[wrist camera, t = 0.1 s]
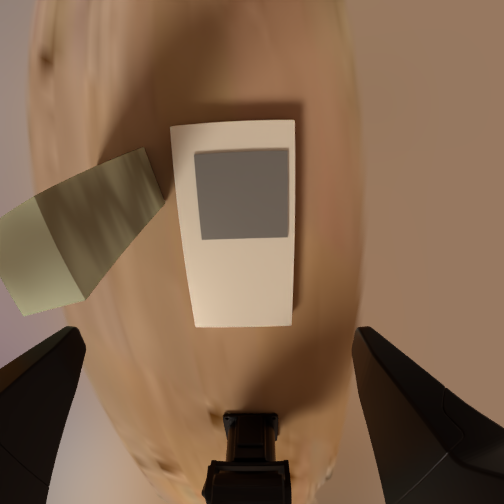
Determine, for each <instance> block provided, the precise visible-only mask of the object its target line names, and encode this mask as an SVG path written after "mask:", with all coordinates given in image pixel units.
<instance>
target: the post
mask: <svg viewBox="0 0 504 504" xmlns="http://www.w3.org/2000/svg"><path fill="white" fill-rule="evenodd" d="M164 204H165V201H164V199H163V196H162V194H161V191H160V188H159V186H158V183H157V181H156V178H155V175H154V173H153V170H152V167H151V165H150V162H149V159H148V157H147V154H146V151H145V149H144V147H142V148H139V149H137V150H134V151H132V152H129V153H126V154H124V155H121V156H119V157H117V158H114V159H112V160H109V161H107V162H105V163H102V164H100V165H98V166H95V167H93V168H91V169H89V170H86V171H84V172H82V173H80V174H78V175H75V176H73V177H71V178H69V179H67V180H65V181H63V182H61V183H59V184H57V185H55V186H53V187H51V188H49V189H47V190H45V191H43V192H41V193H39V194H37V195H35V196H34V197H32V198H31V199H29V200H27V201H25V202H24V203H22V204H21V205H19V206H18V207H16V208H14V209H13V210H12V211H10V212H8V213H7V214H5V215H4V216H2V217H1V218H0V277H1V279H2V281H3V282H4V285H5V286H6V288H7V290H8V291H9V293H10V295H11V297H12V299H13V300H14V302H15V303H16V305H17V307H18V308H19V310H20V312H21V313H22V315H23V316H26V315H31V314H34V313H38V312H42V311H46V310H49V309H54V308H58V307H62V306H65V305H69V304H73V303H77V302H81V301H85V300H86V299H87V298H88V296H89V295H90V294H91V292H92V291H93V290H94V288H95V287H96V286H97V285H98V283H99V282H100V281H101V279H102V278H103V277H104V276H105V274H106V273H107V272H108V270H109V269H110V268H111V267H112V265H113V264H114V263H115V262H116V260H117V259H118V258H119V257H120V256H121V254H122V253H123V252H124V251H125V249H126V248H127V247H128V246H129V245H130V243H131V242H132V241H133V240H134V239H135V237H136V236H137V235H138V234H139V233H140V232H141V230H142V229H143V228H144V227H145V226H146V225H147V223H148V222H149V221H150V220H151V219H152V218H153V217H154V216H155V214H156V213H157V212H158V211H159V210H160V209H161V208H162V207H163V205H164Z"/></svg>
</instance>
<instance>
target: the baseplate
mask: <svg viewBox="0 0 504 504" xmlns="http://www.w3.org/2000/svg"><path fill="white" fill-rule="evenodd" d="M170 134H171V146H172V158H173V168H174V178H175V188H176V197H177V206H178V214H179V222H180V230H181V237H182V245H183V252H184V259H185V266H186V272H187V279H188V285H189V291H190V297H191V303H192V309H193V315H194V321H195V326H196V327H266V326H291V324H292V302H293V276H294V239H295V120H244V121H224V122H210V123H197V124H187V125H177V126H171V127H170Z"/></svg>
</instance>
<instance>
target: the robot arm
mask: <svg viewBox="0 0 504 504" xmlns="http://www.w3.org/2000/svg"><path fill="white" fill-rule="evenodd" d="M85 353H86V345H85V343H84V340H83V338H82V336H81V334H80V331H79V329H78V328H77V327H72V326H66V327H64V328H63V329H61V330H60V331H58V332H56V333H55V334H53V335H52V336H50V337H49V338H47V339H45V340H44V341H42V342H41V343H39V344H38V345H36V346H35V347H33V348H31V349H30V350H28V351H27V352H25V353H24V354H22V355H20V356H19V357H17V358H16V359H14V360H13V361H11V362H10V363H8V364H7V365H5V366H4V367H2V368H1V369H0V504H46V500H47V495H48V490H49V487H48V486H49V485H50V480H51V476H52V472H53V468H54V463H55V459H56V455H57V452H58V448H59V444H60V440H61V437H62V434H63V430H64V427H65V423H66V420H67V417H68V414H69V410H70V407H71V404H72V401H73V398H74V395H75V392H76V388H77V385H78V381H79V377H80V373H81V369H82V365H83V361H84V357H85ZM352 357H353V363H354V369H355V375H356V381H357V388H358V394H359V398H360V402H361V405H362V409H363V413H364V417H365V420H366V424H367V428H368V431H369V435H370V439H371V443H372V447H373V451H374V455H375V459H376V463H377V467H378V471H379V476H380V480H381V484H382V489H383V493H384V498H385V502H386V504H504V428H503V427H501V426H500V425H498V424H497V423H495V422H494V421H492V420H491V419H489V418H488V417H486V416H484V415H483V414H481V413H480V412H478V411H477V410H475V409H474V408H473V407H471V406H470V405H468V404H467V403H465V402H464V401H463V400H462V399H460V398H459V397H458V396H456V395H455V394H454V393H452V392H451V391H450V390H449V389H448V388H445V386H444V385H442V384H441V383H440V382H439V381H438V380H436V379H435V378H434V377H432V376H431V375H430V374H429V373H428V372H426V371H425V370H424V369H423V368H421V367H420V366H419V365H418V364H416V363H415V362H414V361H413V360H411V359H410V358H409V357H408V356H406V355H405V354H404V353H403V352H401V351H400V350H399V349H398V348H396V347H395V346H394V345H393V344H391V343H390V342H389V341H388V340H386V339H385V338H384V337H383V336H381V335H380V334H379V333H378V332H376V331H375V330H374V329H372V328H371V327H368V326H367V327H358V328H357V329H356V331H355V335H354V340H353V345H352ZM223 422H224V427H225V431H226V436H227V454H226V461H217V460H212V461H211V465H210V466H208V472H207V478H206V481H205V484H204V487H203V490H202V496H203V497H204V498H205V500H206V504H291V481H290V472H289V462H288V460H283V461H276V458H275V441H276V440H277V432H278V415H277V414H224V415H223Z"/></svg>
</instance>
